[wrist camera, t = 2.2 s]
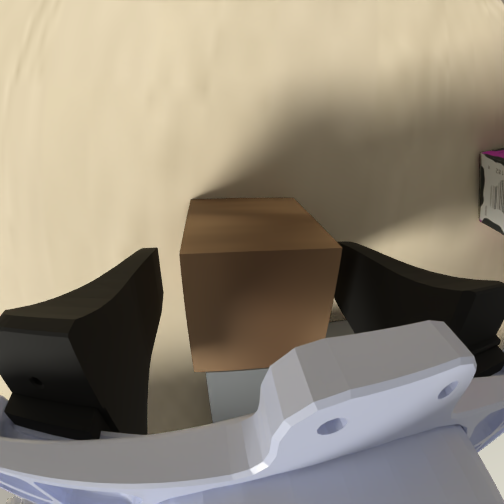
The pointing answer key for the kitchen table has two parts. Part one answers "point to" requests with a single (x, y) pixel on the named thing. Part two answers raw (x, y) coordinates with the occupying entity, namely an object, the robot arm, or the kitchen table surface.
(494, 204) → the candy bar box
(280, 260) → the walnut block
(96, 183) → the kitchen table surface
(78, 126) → the kitchen table surface
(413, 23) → the kitchen table surface
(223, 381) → the slate base
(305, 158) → the kitchen table surface
